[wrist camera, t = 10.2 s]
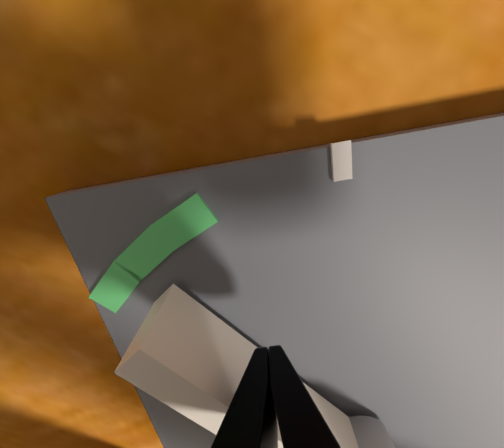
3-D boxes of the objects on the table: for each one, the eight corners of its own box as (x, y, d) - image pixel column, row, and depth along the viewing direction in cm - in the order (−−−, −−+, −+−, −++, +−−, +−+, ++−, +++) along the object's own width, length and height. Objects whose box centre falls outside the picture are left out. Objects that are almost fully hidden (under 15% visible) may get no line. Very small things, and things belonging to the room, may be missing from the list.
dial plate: (510, 425, 14) (531, 450, 13) (184, 459, 15) (178, 484, 14) (605, 90, 8) (659, 84, 7) (63, 188, 9) (38, 196, 8)
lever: (399, 435, 12) (441, 524, 10) (350, 461, 13) (377, 550, 10) (188, 268, 9) (160, 330, 6) (140, 315, 10) (95, 389, 7)
